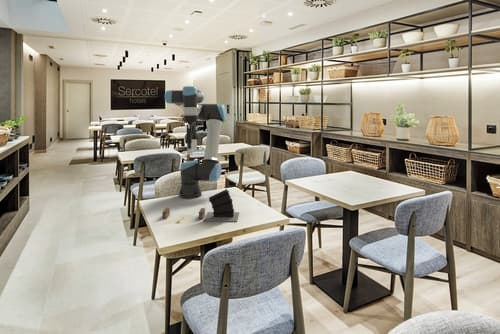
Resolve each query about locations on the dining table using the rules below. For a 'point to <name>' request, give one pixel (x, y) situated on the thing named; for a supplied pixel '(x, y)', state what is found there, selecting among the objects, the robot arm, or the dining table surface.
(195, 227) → the dining table surface
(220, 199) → the black piece
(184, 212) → the dining table surface
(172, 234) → the dining table surface
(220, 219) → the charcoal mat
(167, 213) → the walnut holder
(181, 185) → the robot arm
